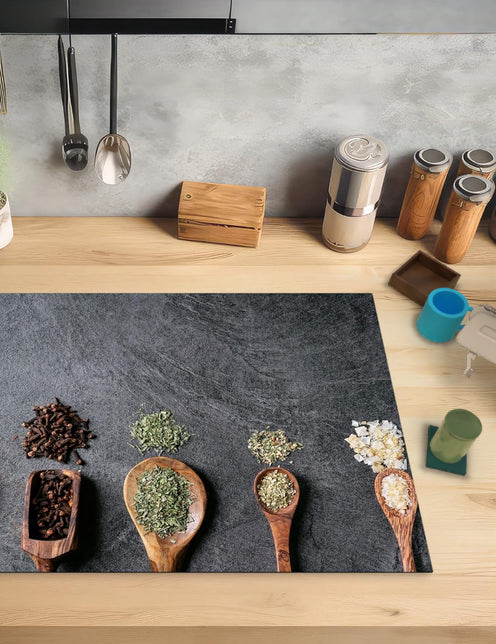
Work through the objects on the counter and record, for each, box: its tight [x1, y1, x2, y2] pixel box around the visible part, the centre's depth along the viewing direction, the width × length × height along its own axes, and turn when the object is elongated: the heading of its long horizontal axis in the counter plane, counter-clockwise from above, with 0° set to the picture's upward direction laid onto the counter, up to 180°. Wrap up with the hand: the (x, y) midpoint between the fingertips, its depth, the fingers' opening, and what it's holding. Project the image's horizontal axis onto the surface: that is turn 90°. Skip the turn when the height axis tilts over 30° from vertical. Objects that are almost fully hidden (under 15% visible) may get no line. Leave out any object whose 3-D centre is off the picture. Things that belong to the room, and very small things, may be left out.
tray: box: [387, 249, 462, 308], centre depth 163 cm, size 11×11×4 cm
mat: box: [425, 424, 468, 477], centre depth 139 cm, size 9×7×1 cm
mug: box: [416, 288, 474, 343], centre depth 154 cm, size 12×8×8 cm
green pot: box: [430, 408, 483, 463], centre depth 135 cm, size 6×6×9 cm
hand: (489, 389), depth 139 cm, fingers open, 8 cm apart
